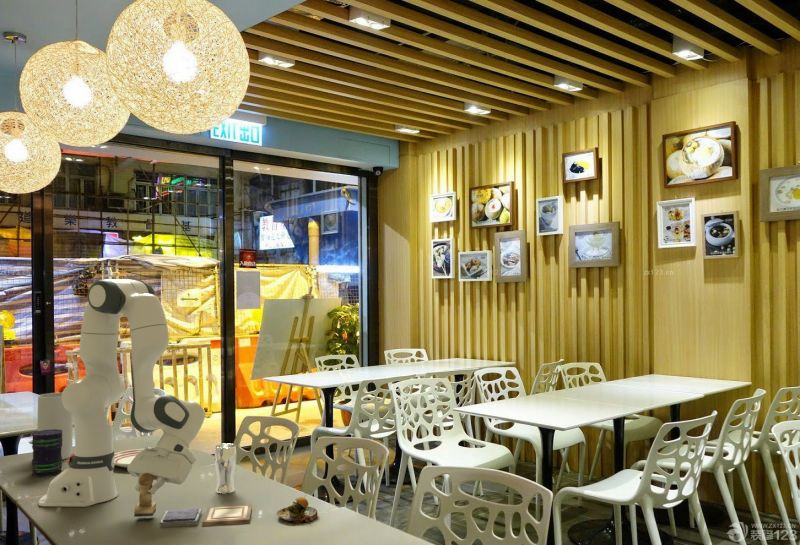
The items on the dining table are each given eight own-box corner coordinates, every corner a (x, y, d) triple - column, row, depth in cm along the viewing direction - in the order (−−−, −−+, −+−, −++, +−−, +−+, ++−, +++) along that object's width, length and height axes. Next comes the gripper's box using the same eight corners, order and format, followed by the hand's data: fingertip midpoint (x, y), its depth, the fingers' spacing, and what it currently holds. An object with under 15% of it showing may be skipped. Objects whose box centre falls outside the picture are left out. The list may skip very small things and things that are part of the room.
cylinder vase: (66, 452, 274) (67, 391, 275) (76, 458, 265) (77, 395, 266) (33, 457, 266) (34, 394, 267) (41, 463, 257) (42, 398, 257)
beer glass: (230, 495, 216) (230, 448, 217) (210, 493, 218) (210, 447, 218) (239, 489, 223) (239, 443, 223) (220, 487, 224) (220, 442, 225)
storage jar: (64, 468, 249) (64, 428, 249) (59, 475, 239) (60, 433, 240) (34, 471, 246) (35, 430, 246) (28, 478, 236) (29, 435, 237)
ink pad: (159, 527, 186) (159, 520, 186) (166, 515, 196) (166, 509, 196) (196, 525, 188) (197, 518, 188) (201, 513, 198) (201, 507, 198)
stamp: (134, 516, 190) (135, 475, 191) (137, 511, 195) (139, 471, 196) (152, 516, 191) (153, 475, 192) (155, 510, 196) (156, 470, 197)
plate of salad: (281, 511, 201) (281, 486, 201) (320, 511, 200) (320, 486, 201) (272, 525, 189) (272, 498, 189) (313, 525, 188) (313, 498, 189)
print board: (202, 525, 188) (202, 521, 188) (207, 510, 200) (207, 506, 201) (249, 522, 190) (249, 518, 190) (251, 508, 203) (251, 504, 203)
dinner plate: (155, 451, 277) (155, 443, 277) (196, 461, 261) (196, 452, 261) (91, 465, 255) (91, 456, 255) (133, 477, 239) (133, 467, 239)
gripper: (139, 440, 205) (112, 480, 195) (190, 448, 196) (164, 491, 187) (149, 452, 208) (123, 492, 199) (200, 460, 200) (176, 502, 191)
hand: (144, 491), depth 193 cm, fingers closed on stamp, 3 cm apart
